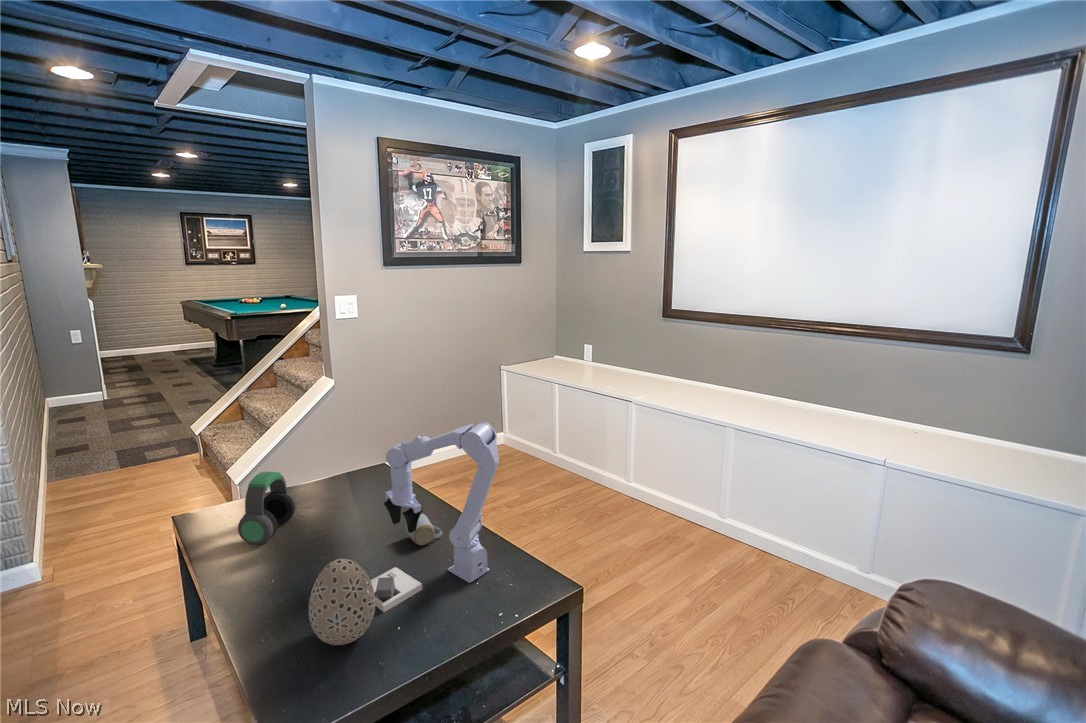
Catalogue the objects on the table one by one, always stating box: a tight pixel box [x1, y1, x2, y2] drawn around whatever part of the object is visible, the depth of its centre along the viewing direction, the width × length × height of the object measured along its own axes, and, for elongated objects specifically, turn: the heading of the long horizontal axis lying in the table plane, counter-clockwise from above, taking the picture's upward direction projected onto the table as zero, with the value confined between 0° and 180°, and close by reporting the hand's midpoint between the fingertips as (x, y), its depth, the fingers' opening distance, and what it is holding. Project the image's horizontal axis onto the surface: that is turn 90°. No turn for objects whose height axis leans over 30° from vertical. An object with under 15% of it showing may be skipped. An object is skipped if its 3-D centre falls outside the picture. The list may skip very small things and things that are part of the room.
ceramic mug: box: [404, 513, 443, 546], centre depth 167 cm, size 11×8×8 cm
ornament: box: [308, 558, 376, 646], centre depth 123 cm, size 15×15×20 cm
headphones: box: [237, 471, 298, 546], centre depth 170 cm, size 19×11×20 cm, turn 179°
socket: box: [367, 566, 423, 613], centre depth 142 cm, size 12×12×2 cm
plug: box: [376, 577, 395, 602], centre depth 138 cm, size 4×4×5 cm
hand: (404, 527), depth 155 cm, fingers open, 7 cm apart
